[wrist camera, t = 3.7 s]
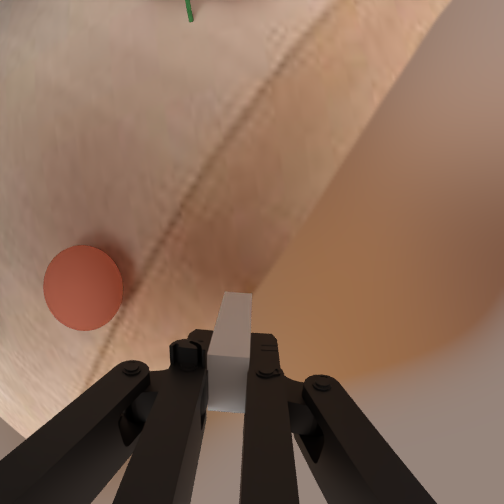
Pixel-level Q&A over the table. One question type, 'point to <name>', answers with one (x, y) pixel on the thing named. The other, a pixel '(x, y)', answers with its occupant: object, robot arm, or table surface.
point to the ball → (83, 288)
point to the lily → (189, 10)
